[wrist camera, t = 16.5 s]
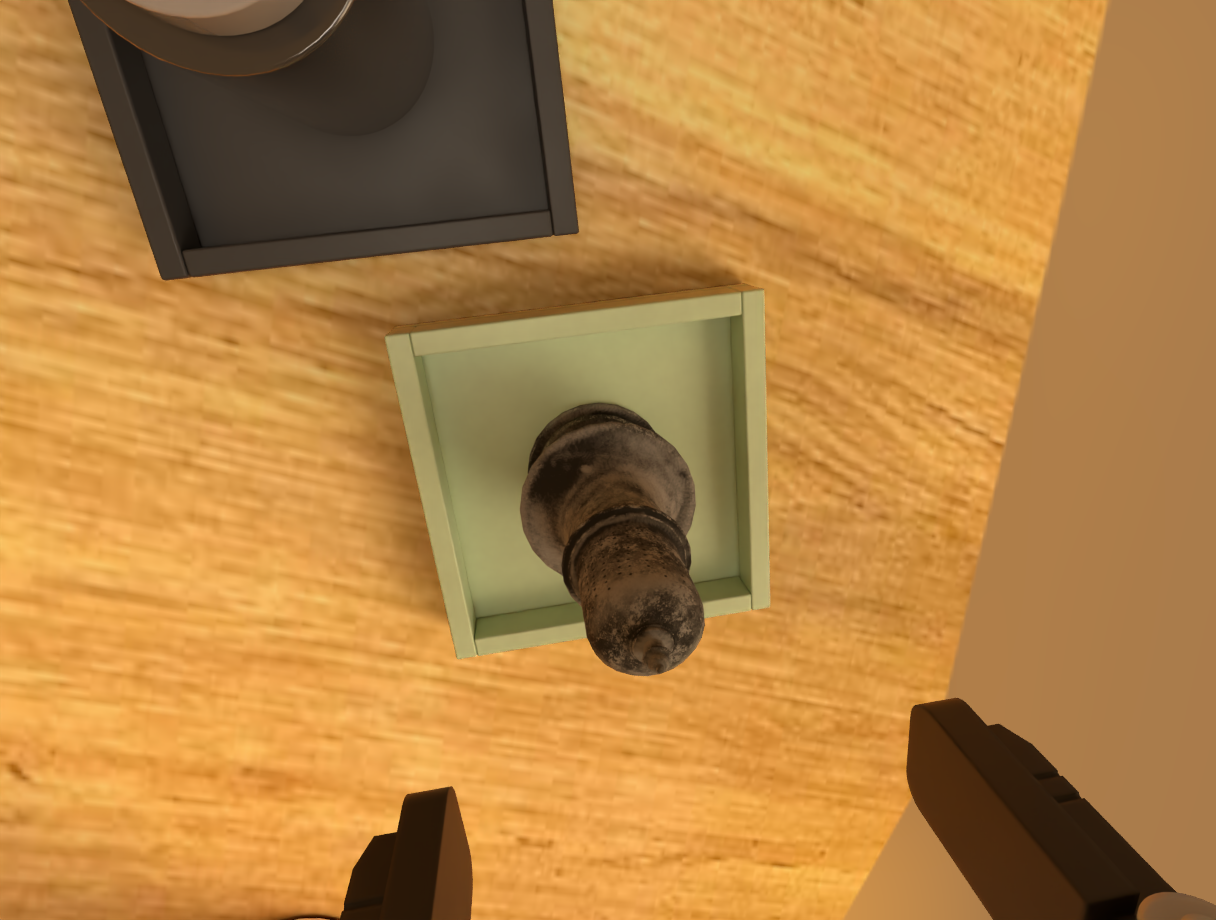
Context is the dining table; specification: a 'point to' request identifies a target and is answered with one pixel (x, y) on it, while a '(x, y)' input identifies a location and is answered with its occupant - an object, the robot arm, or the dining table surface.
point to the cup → (312, 919)
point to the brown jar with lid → (293, 53)
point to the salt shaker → (617, 533)
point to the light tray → (558, 381)
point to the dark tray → (346, 153)
